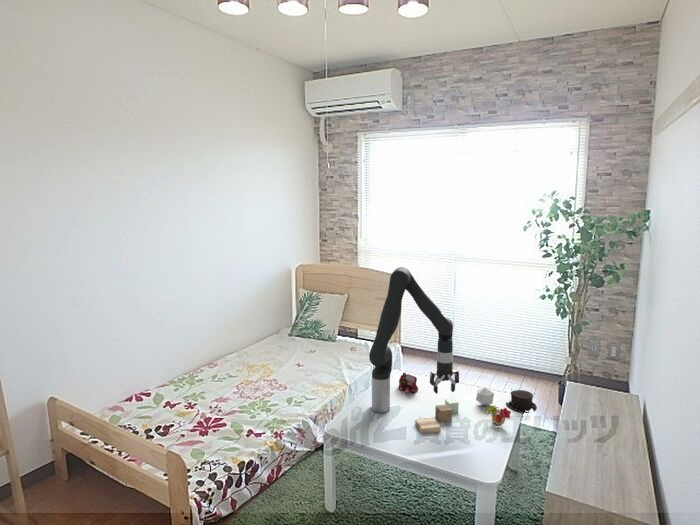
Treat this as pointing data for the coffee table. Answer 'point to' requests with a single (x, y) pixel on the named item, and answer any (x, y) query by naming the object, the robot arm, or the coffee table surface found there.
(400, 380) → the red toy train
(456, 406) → the sage green block
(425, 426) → the oak plinth
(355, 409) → the coffee table surface
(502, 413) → the red and green cluster
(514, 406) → the top hat
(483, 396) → the die
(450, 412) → the walnut block
